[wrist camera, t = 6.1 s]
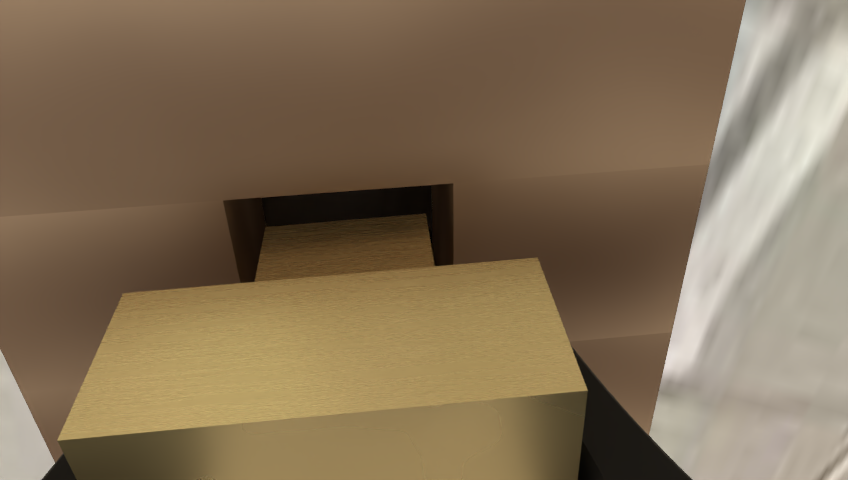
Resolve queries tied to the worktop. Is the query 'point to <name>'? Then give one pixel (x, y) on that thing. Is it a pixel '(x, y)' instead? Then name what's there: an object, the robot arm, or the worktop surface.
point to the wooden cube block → (336, 369)
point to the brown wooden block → (352, 154)
